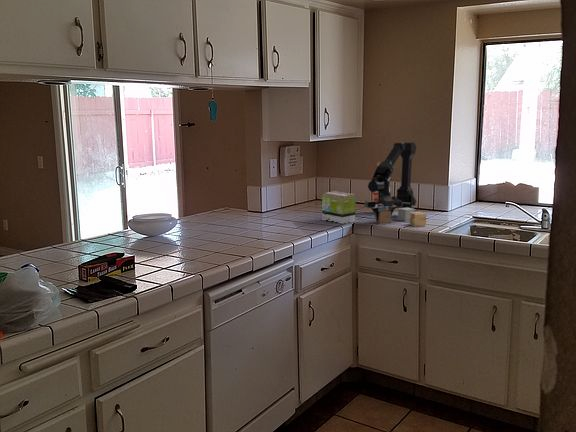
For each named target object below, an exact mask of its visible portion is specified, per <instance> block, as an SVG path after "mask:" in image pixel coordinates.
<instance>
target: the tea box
mask: <svg viewBox="0 0 576 432" xmlns="http://www.w3.org/2000/svg"><path fill="white" fill-rule="evenodd" d="M321 202H322V203H321V205H322V206H321V208H322V209H321V210H322V213H321V217H322V218H321V220H322V221H326V220H328V222H331V221H334V222H333V223H335V222H338V223H337V224H339V223H342V224H341V225H344V224H343V223H346V224H349V223H348V222H351V223H354V221H355V222H356V193H349V192H342V191H337V190H334V191H328V192H322V194H321Z"/></svg>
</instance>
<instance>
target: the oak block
mask: <svg viewBox="0 0 576 432" xmlns="http://www.w3.org/2000/svg"><path fill="white" fill-rule="evenodd" d="M411 224H412V225H411ZM409 225H411V226H413V225H414V226H413V227H426V226H427V213H425V212H422V211H415V212H410V221H409ZM425 225H426V226H425Z"/></svg>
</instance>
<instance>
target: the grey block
mask: <svg viewBox="0 0 576 432" xmlns="http://www.w3.org/2000/svg"><path fill="white" fill-rule="evenodd" d="M397 208H398V207H397ZM397 210H398V211H397V219H399V220H398V221H402V220H403V222H410V212H416V209H415V208H413V207H412V208H408V207H407V208H401V207H399V208H398V209H397Z"/></svg>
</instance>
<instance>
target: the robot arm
mask: <svg viewBox="0 0 576 432" xmlns="http://www.w3.org/2000/svg"><path fill="white" fill-rule="evenodd" d="M416 150H417V145H416V143H415V142H413V141H402V142H394V144H393V147H392V148H391V150H390V151H389V153H388V155H387V156H386V158H385V160H383V161H380V162H379V163H380V164H379V165H378V166H377V167H376V169H375V172H374V173H373V176H372V178H371V180H370V181H369V183H368V184H367V187H368V191H370V192H372V193H373V192H376V191H377V193H378V199H377V201H378V202H374V201H373V200H365V201H364V204H363V205H364V207H366V208H368V209H371V210H373V211H372V213H373V212H374V213H373V214H374V217H375V221H376V220H377V221H378V209H379V208H377V206H380V205H384V206H385V207H387V206H388V210H389V211H391V216H392V215H393V213H394V211H395V210H396V209H397V208H398V207H400V208H407V207H408V208H412V209H413V206H417V199H416V197H415V195H414V190H413V188H412V187H411V182H412V181H411V180H412V179H411V178H412V162H413V161H412V160H413V158H414V156H415V155H416ZM400 157H401V160H402V161H401V163H402V164H401V178H400V179H401V181H400V187H399V188H397V190H396V195H393V196H392V195H391V191H390V192H389V189H390V190H391V187H390V186H391V185H390V183H391V182H390V181H392V180H393V179H392V178H391V176H392V174H393V173H394V165H395V164H396V162H397V160H398V159H399V158H400Z"/></svg>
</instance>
